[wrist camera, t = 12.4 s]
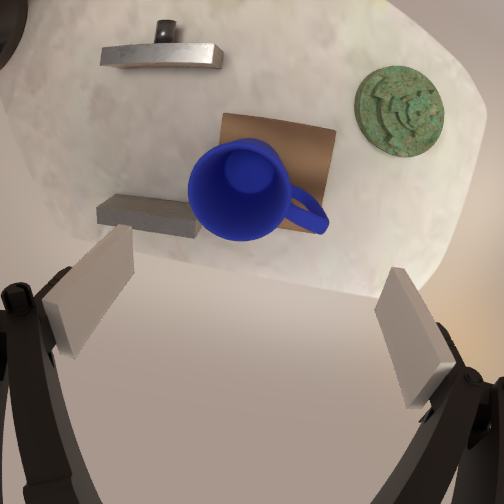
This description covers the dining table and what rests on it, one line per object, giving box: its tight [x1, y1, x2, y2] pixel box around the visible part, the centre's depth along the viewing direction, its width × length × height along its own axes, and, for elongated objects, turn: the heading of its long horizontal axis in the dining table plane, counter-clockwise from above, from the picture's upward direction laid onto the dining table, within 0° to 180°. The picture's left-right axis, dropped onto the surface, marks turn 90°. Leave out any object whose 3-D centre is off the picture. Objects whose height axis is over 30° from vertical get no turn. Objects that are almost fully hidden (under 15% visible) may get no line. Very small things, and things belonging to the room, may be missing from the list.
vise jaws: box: [96, 20, 224, 238], centre depth 30 cm, size 23×12×5 cm, turn 172°
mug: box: [188, 138, 329, 241], centre depth 29 cm, size 8×12×10 cm
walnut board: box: [219, 113, 336, 234], centre depth 34 cm, size 12×12×1 cm
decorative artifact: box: [354, 66, 444, 157], centre depth 26 cm, size 10×7×10 cm
